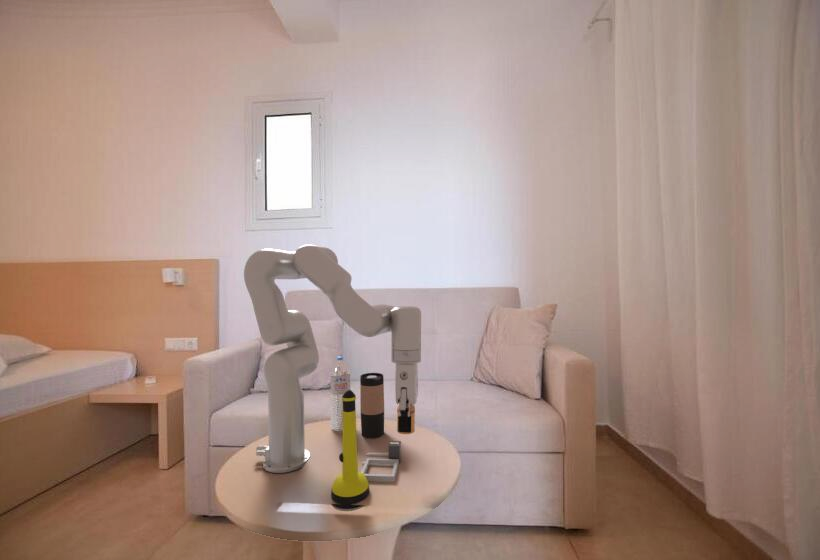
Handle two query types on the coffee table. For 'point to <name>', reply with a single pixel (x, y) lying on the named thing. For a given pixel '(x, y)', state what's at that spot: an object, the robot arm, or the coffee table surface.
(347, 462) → the flashlight
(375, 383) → the travel mug
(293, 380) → the robot arm
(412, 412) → the cap
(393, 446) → the breaker toggle
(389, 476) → the board
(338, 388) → the water bottle
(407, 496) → the coffee table surface
